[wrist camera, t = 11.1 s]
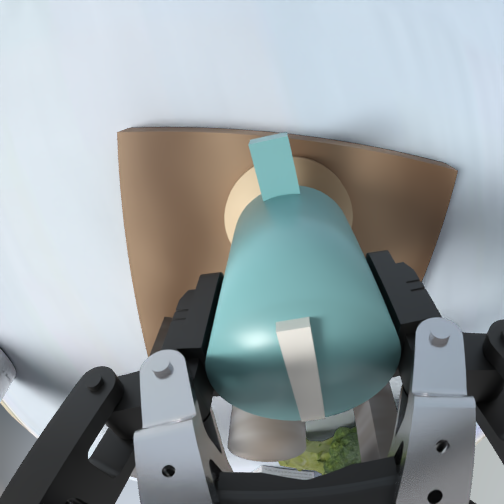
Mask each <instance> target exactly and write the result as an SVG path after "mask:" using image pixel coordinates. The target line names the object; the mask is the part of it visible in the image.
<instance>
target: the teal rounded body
mask: <svg viewBox="0 0 504 504" xmlns="http://www.w3.org/2000/svg"><path fill="white" fill-rule="evenodd" d="M248 145H249V149H250V153H251V157H252V160H253V164H254V168H255V172H256V176H257V179H258V183H259V187H260V191H261V194H260V195H259V196H257V197H256V198H255V199H253V200H252V201H251V202H250V203H249V204H248V205H247V206H246V207H245V209H244V210H243V211H242V213H241V215H240V217H239V218H238V221H237V224H236V227H235V231H234V236H233V240H232V244H231V248H230V253H229V257H228V261H227V266H226V270H225V274H224V279H223V283H222V287H221V292H220V296H219V301H218V305H217V309H216V314H215V318H214V323H213V328H212V332H211V337H210V341H209V346H208V350H207V355H206V361H205V367H206V373H207V377H208V379H209V382H210V384H211V385H212V387H213V388H214V389H215V391H216V392H217V393H218V394H219V395H220V396H221V397H222V398H223V399H225V400H226V401H227V402H228V403H230V404H232V405H233V406H235V407H237V408H239V409H241V410H243V411H245V412H248V413H251V414H253V415H257V416H261V417H265V418H270V419H277V420H290V421H298V420H301V421H302V422H304V421H311V420H319V419H325V417H328V416H332V415H336V414H339V413H342V412H345V411H347V410H350V409H352V408H354V407H356V406H358V405H360V404H362V403H364V402H365V401H367V400H369V399H370V398H372V397H373V396H374V395H376V394H377V393H378V392H379V391H380V390H381V389H382V388H383V387H384V386H385V385H386V384H387V383H388V382H389V381H390V379H391V378H392V376H393V375H394V373H395V372H396V369H397V367H398V365H399V361H400V357H401V346H400V340H399V337H398V335H397V332H396V330H395V327H394V324H393V322H392V319H391V317H390V314H389V312H388V309H387V307H386V304H385V302H384V300H383V297H382V295H381V292H380V290H379V288H378V285H377V283H376V281H375V279H374V276H373V274H372V272H371V269H370V267H369V265H368V263H367V261H366V258H365V256H364V254H363V252H362V250H361V248H360V245H359V243H358V241H357V239H356V237H355V235H354V233H353V231H352V229H351V227H350V225H349V223H348V221H347V219H346V217H345V215H344V213H343V211H342V210H341V208H340V207H339V205H338V204H337V203H336V202H335V201H334V200H333V199H331V198H330V197H329V196H328V195H326V194H324V193H322V192H321V191H318V190H316V189H313V188H310V187H306V186H299V184H298V180H297V175H296V170H295V166H294V161H293V156H292V152H291V147H290V143H289V139H288V135H287V132H284V133H279V134H274V135H270V136H265V137H260V138H256V139H252V140H250V142H249V144H248Z"/></svg>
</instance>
